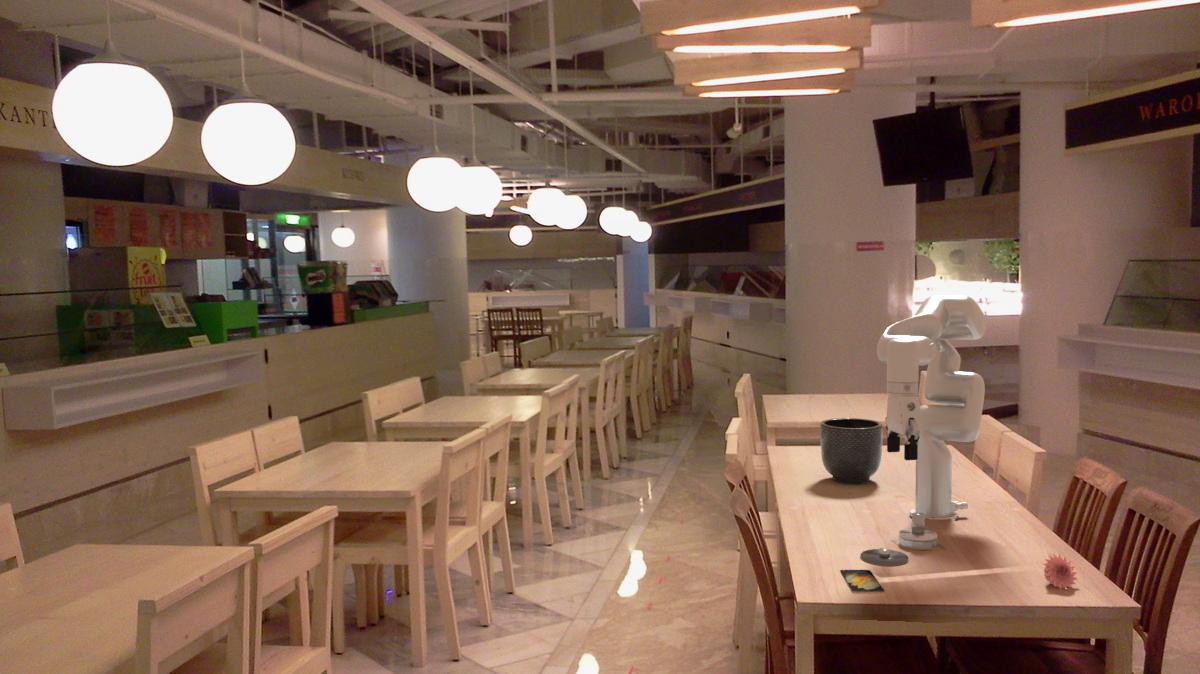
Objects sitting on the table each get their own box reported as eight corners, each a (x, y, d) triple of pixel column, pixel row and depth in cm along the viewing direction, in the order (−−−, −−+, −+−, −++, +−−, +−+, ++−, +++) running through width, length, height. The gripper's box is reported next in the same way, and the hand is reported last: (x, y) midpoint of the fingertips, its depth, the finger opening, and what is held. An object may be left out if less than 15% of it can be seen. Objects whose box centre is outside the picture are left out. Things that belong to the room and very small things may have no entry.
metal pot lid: (894, 553, 232) (894, 541, 232) (916, 567, 221) (917, 555, 221) (852, 556, 230) (853, 544, 230) (873, 571, 220) (873, 558, 219)
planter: (859, 471, 319) (859, 416, 318) (895, 484, 301) (895, 425, 299) (808, 476, 313) (808, 420, 312) (841, 490, 295) (841, 430, 293)
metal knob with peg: (925, 537, 241) (925, 508, 240) (944, 548, 232) (944, 517, 231) (892, 540, 239) (892, 510, 239) (910, 551, 231) (910, 520, 230)
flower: (1036, 552, 213) (1050, 545, 208) (1069, 566, 212) (1084, 559, 207) (1032, 584, 209) (1046, 578, 204) (1065, 599, 208) (1081, 592, 203)
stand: (926, 541, 242) (926, 531, 241) (946, 552, 232) (947, 542, 232) (890, 543, 240) (890, 533, 240) (909, 555, 230) (909, 545, 230)
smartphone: (870, 569, 220) (885, 591, 206) (870, 572, 220) (885, 594, 206) (839, 569, 221) (852, 591, 206) (839, 572, 221) (852, 594, 206)
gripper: (933, 392, 226) (932, 462, 228) (901, 383, 244) (900, 448, 245) (903, 393, 226) (903, 463, 227) (873, 384, 243) (873, 449, 244)
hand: (902, 455), depth 236 cm, fingers open, 9 cm apart
